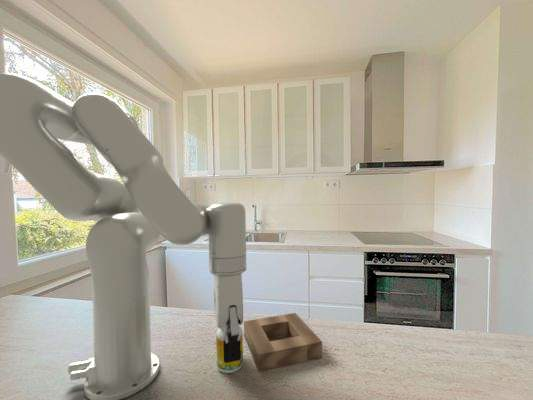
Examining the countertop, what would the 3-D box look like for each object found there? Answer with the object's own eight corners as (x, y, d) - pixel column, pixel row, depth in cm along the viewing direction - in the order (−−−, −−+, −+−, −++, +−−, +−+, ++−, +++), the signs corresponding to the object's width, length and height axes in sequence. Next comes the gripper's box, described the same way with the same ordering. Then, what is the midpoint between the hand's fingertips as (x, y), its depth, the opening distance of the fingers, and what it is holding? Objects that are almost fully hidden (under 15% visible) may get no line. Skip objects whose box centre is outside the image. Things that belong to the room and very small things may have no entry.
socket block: (258, 372, 49) (258, 354, 49) (244, 335, 62) (243, 321, 62) (322, 357, 53) (322, 341, 53) (295, 326, 66) (295, 312, 66)
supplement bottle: (236, 353, 55) (235, 310, 55) (247, 367, 50) (247, 319, 50) (212, 363, 52) (211, 317, 52) (223, 378, 47) (222, 327, 47)
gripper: (206, 255, 58) (208, 333, 58) (212, 277, 42) (215, 385, 42) (238, 253, 60) (239, 327, 60) (256, 273, 44) (258, 375, 44)
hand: (229, 350), depth 51 cm, fingers closed on supplement bottle, 5 cm apart
